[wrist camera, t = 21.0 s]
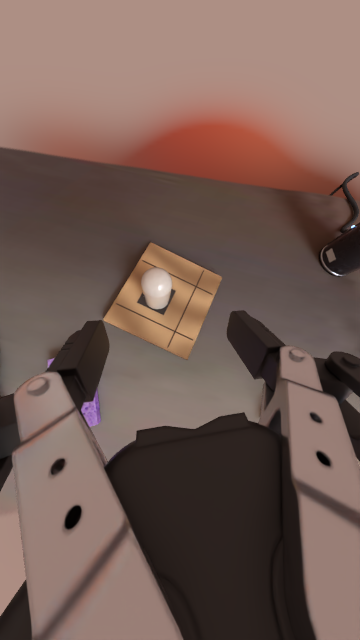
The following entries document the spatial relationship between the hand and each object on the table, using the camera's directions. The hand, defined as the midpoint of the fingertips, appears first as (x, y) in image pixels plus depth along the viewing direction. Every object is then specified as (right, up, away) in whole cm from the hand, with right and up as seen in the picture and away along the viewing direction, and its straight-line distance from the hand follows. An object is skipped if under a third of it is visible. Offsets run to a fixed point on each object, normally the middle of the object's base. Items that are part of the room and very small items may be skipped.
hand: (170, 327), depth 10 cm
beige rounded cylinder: (-4, +5, +22) cm, 23 cm away
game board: (-2, +5, +24) cm, 25 cm away
